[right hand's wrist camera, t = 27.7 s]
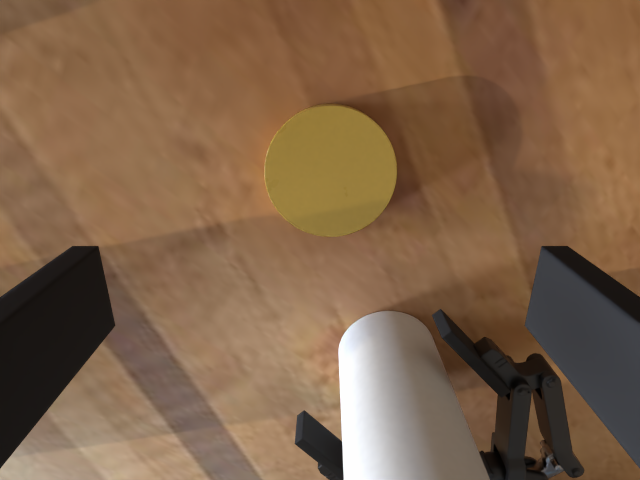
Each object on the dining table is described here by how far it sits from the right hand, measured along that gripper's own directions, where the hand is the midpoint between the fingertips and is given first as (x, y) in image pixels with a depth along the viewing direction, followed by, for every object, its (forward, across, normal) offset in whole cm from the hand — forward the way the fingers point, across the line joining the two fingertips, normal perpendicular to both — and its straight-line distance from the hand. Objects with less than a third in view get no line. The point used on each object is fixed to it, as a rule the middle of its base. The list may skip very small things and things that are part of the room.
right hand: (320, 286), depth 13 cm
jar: (+19, +6, -16) cm, 26 cm away
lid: (+17, +1, 0) cm, 17 cm away
